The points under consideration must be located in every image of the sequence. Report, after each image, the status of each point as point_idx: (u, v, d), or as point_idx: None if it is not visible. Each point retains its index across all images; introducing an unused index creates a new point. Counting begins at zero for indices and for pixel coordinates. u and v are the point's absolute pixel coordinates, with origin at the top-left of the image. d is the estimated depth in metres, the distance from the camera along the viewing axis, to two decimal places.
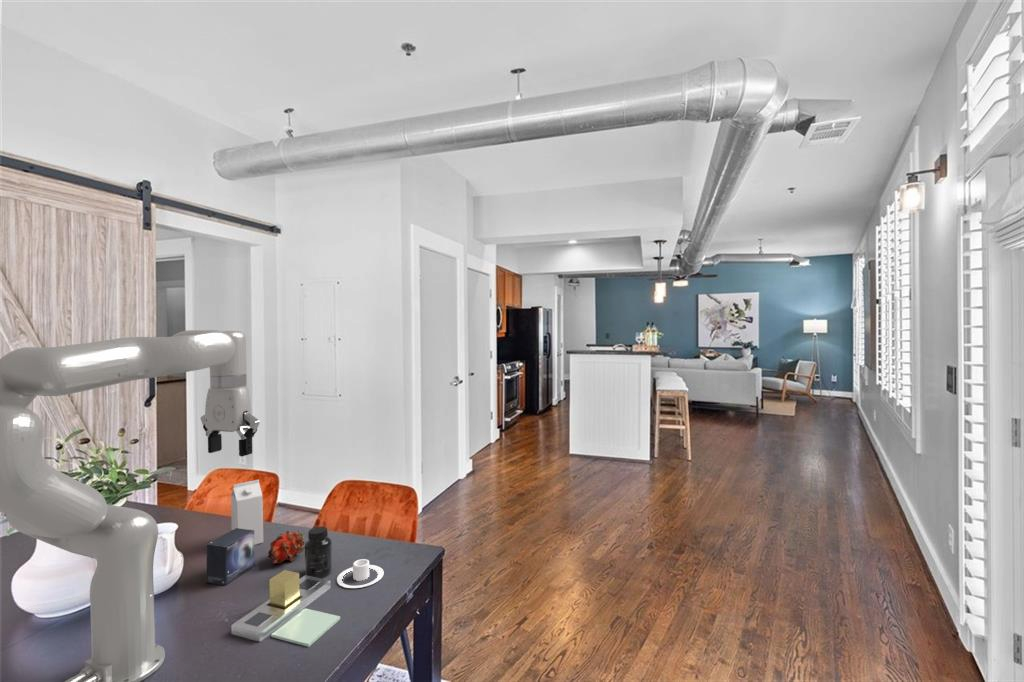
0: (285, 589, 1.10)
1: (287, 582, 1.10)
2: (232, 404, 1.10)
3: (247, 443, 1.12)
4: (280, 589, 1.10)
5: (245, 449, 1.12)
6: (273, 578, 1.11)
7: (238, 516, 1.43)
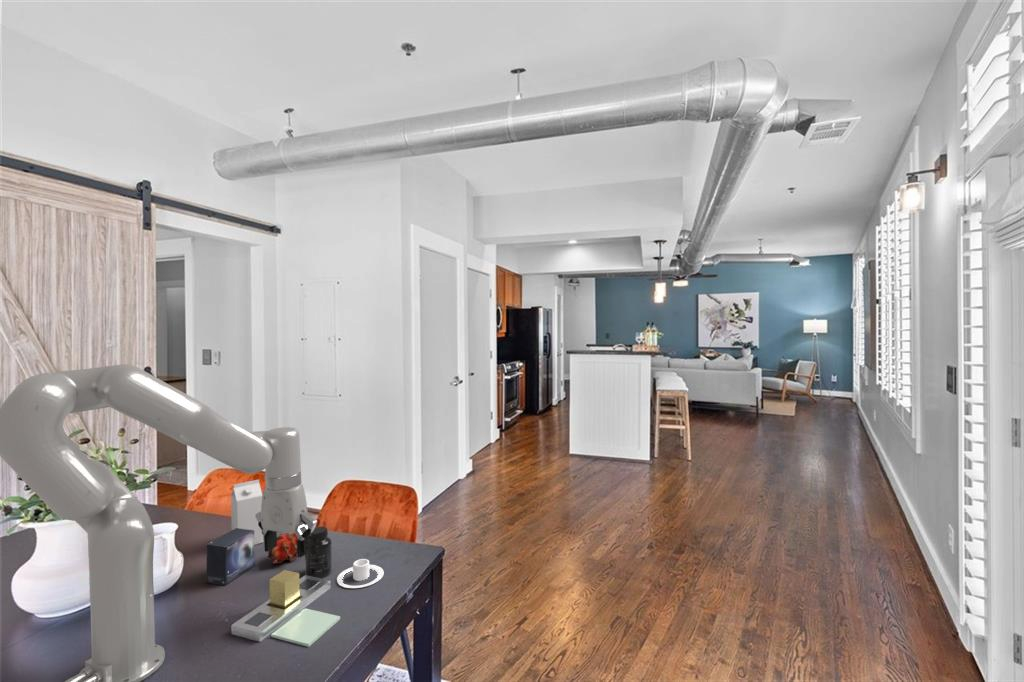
0: (285, 589, 1.10)
1: (287, 582, 1.10)
2: (290, 506, 1.08)
3: (305, 543, 1.11)
4: (280, 589, 1.10)
5: (303, 550, 1.10)
6: (273, 578, 1.11)
7: (238, 516, 1.43)
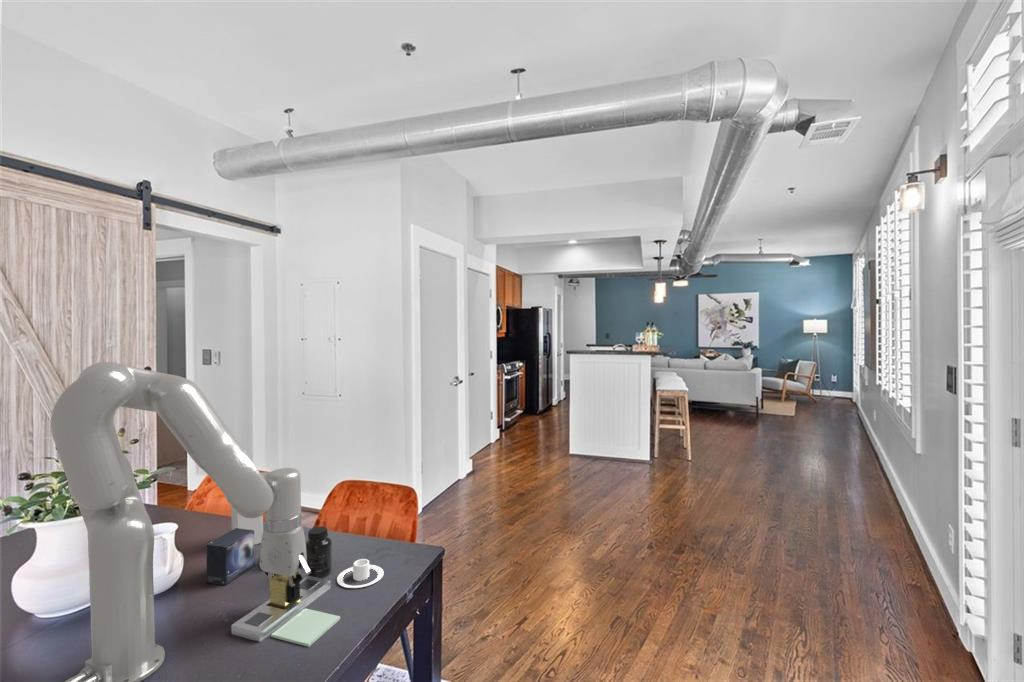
0: (285, 589, 1.10)
1: (287, 581, 1.10)
2: (289, 549, 1.09)
3: (296, 589, 1.11)
4: (280, 589, 1.10)
5: (293, 596, 1.11)
6: (273, 578, 1.11)
7: (238, 516, 1.43)
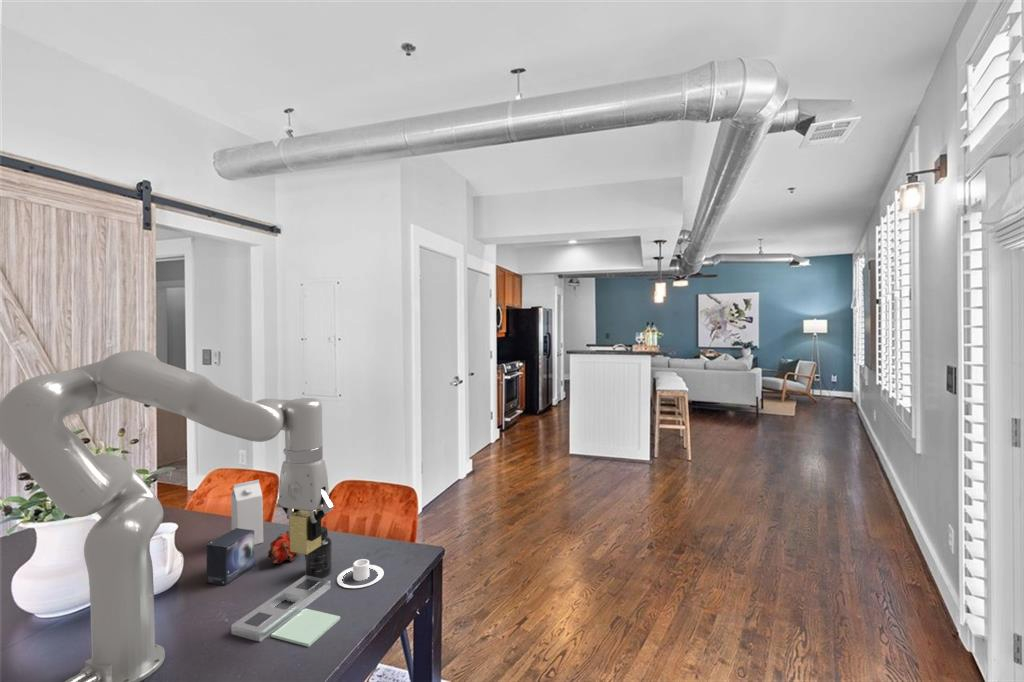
0: (307, 525, 1.02)
1: (309, 517, 1.03)
2: (310, 481, 1.01)
3: (317, 526, 1.04)
4: (301, 525, 1.03)
5: (315, 533, 1.03)
6: (293, 514, 1.04)
7: (238, 516, 1.43)
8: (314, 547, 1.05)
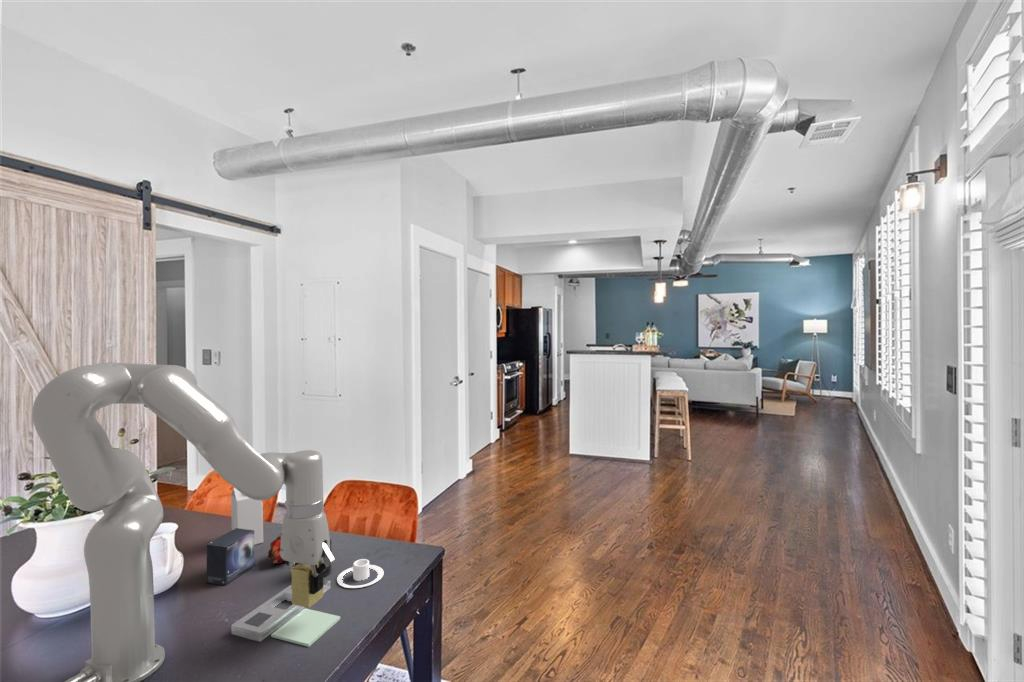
0: (308, 579, 1.03)
1: (310, 571, 1.03)
2: (312, 536, 1.01)
3: (319, 579, 1.04)
4: (303, 579, 1.03)
5: (317, 586, 1.04)
6: (295, 567, 1.04)
7: (238, 516, 1.43)
8: (316, 599, 1.05)
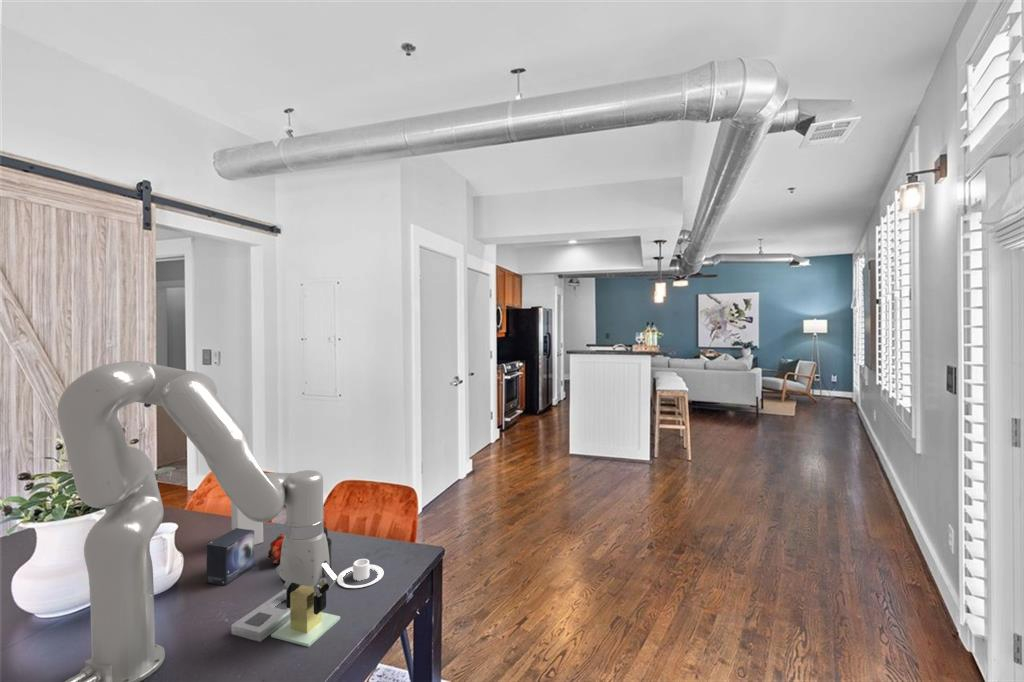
0: (307, 604, 1.03)
1: (309, 596, 1.04)
2: (311, 557, 1.01)
3: (322, 598, 1.04)
4: (302, 604, 1.03)
5: (320, 606, 1.03)
6: (293, 592, 1.04)
7: (238, 516, 1.43)
8: (314, 624, 1.05)
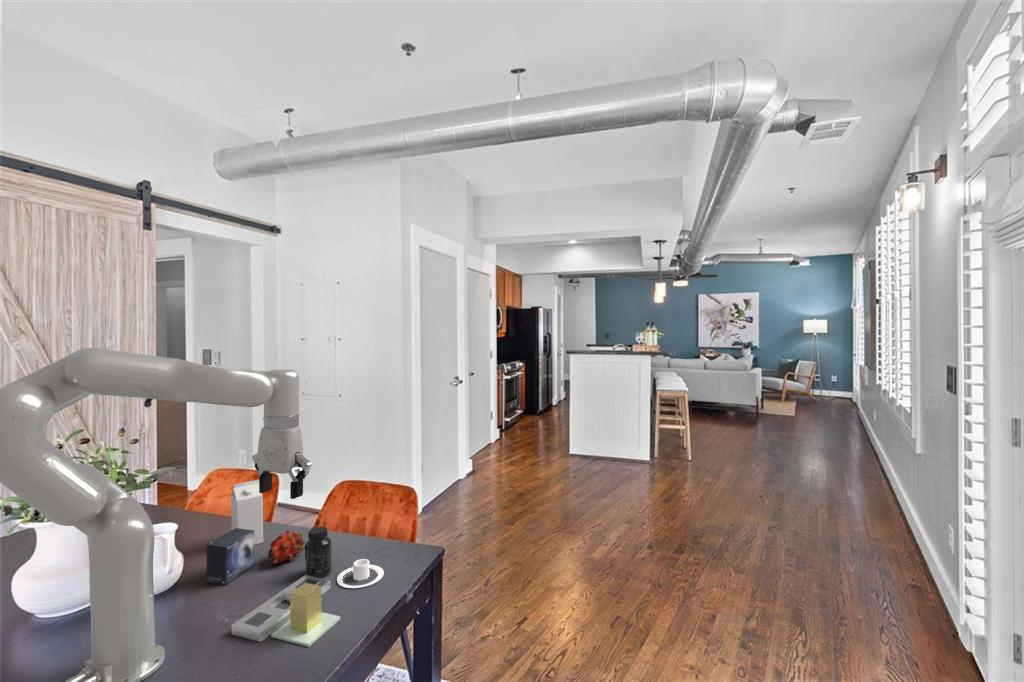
0: (307, 604, 1.03)
1: (309, 596, 1.04)
2: (285, 445, 1.08)
3: (299, 485, 1.10)
4: (302, 604, 1.03)
5: (296, 491, 1.09)
6: (293, 592, 1.04)
7: (238, 516, 1.43)
8: (314, 624, 1.05)
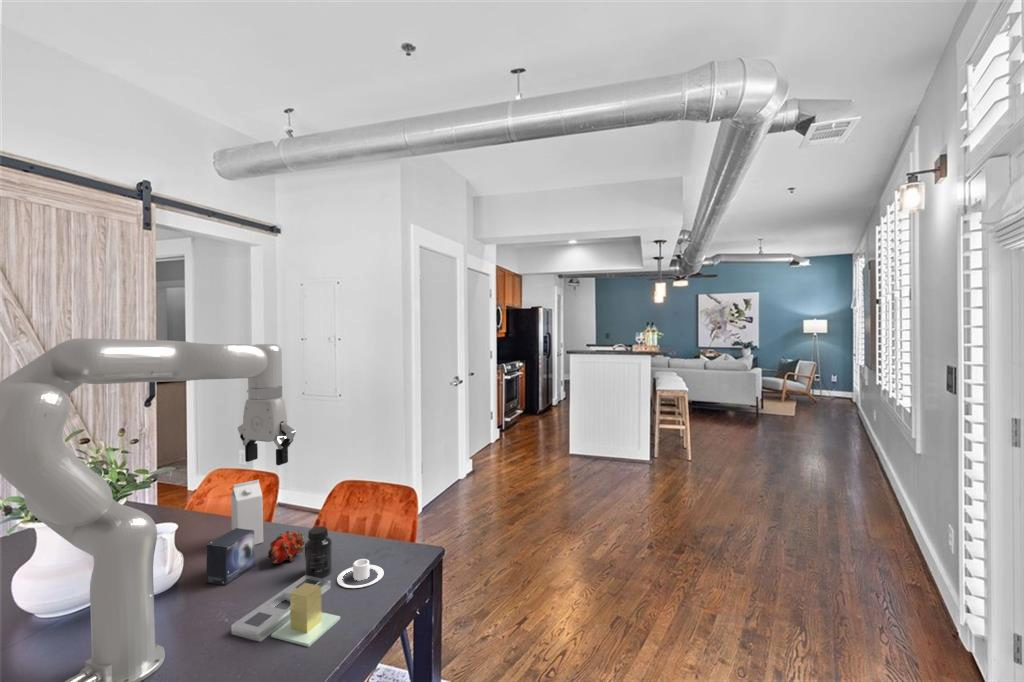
0: (307, 604, 1.03)
1: (309, 596, 1.04)
2: (270, 415, 1.14)
3: (284, 452, 1.16)
4: (302, 604, 1.03)
5: (282, 458, 1.16)
6: (293, 592, 1.04)
7: (238, 516, 1.43)
8: (314, 624, 1.05)
